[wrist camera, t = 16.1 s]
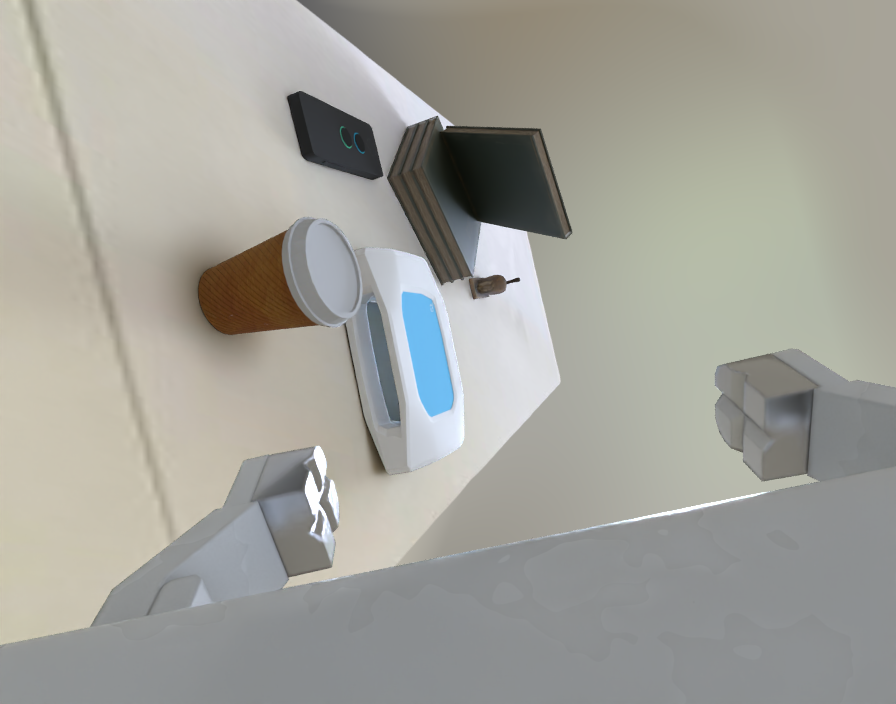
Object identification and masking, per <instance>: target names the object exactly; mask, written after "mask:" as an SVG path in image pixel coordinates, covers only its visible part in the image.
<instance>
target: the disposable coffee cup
mask: <svg viewBox="0 0 896 704" xmlns="http://www.w3.org/2000/svg"><path fill="white" fill-rule="evenodd" d="M362 290H363V289H362V278H361V272H360V268H359V264H358V261H357V258H356V255H355V253H354V251H353V248H352V246H351V244H350V243H349V241H348V239H347V238H346V236H345V235H344V233H343V232H342V231H341V230H340V229H339V228H338V227H337V226H336V225H335V224H334V223H332V222H330V221H329V220H327V219H315V218H311V217H303V218H301V219H298V220H297V221H296V222H295V223H294V224H293V225H292V226H291V227H290V228H289V229H288V230H286V231H284V232H282V233H280V234H279V235H276V236H274V237H273V238H270V239H268V240H266V241H264V242H262V243H260V244H258V245H257V246H254V247H252V248H250V249H248V250H246V251H244V252H242V253H240V254H238V255H236V256H234V257H232V258H230V259H228V260H226V261H225V262H222V263H220V264H218V265H216V266H215V267H212V268H210V269H208V270H207V271H205V272H204V273H203V275H202V277H201V279H200V282H199V288H198V291H199V300H200V305H201V308H202V310H203V312H204V314H205V316H206V318H207V319H208V321H209V322H210V323H211V324H212V325H213V327H215V328H216V329H217V330H218V331H220V332H222V333H224V334H228V335H234V334H242V333H252V332H260V331H270V330H278V329H288V328H296V327H306V326H315V325H321V326H327V327H338V326H341V325H343V324H344V323H345V322H346V321H347V320H348V319H349V318H351V317H353V316H354V315H355V314H356V313H357V312H358V310H359V308H360V305H361V300H362Z"/></svg>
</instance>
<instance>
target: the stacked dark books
mask: <svg viewBox="0 0 896 704" xmlns="http://www.w3.org/2000/svg"><path fill="white" fill-rule="evenodd" d="M446 128H447V129H445V130H443V127H442V125H441V122H440V120H439V118H438V116H435V117H433V118H430V119H428V120H425V121H422V122H419V123H417V124H414V125H411V126H408V127H407V129H406V132H405V134H404V137H403V139H402V142H401V144H400V147H399V149H398V152H397V155H396V157H395V160H394V162H393V165H392V167H391V170H390V172H389V175H388V177H387V178H388V180H389V182H390V184H391V186H392V188H393V190H394V192H395V194H396V196H397V198H398V200H399V202H400V204H401V206H402V208H403V210H404V212H405V213H406V215H407V217H408V219H409V221H410V223H411V225H412V227H413V229H414V231H415V233H416V235H417V237H418V239H419V241H420V243H421V245H422V247H423V249H424V251H425V253H426V255H427V257H428V259H429V261H430V263H431V265H432V267H433V269H434V271H435V273H436V275H437V277H438V279H439V281H440V282H441V284H442V285H443V284H444V283H445V282H449V281H450V282H451V283H453V282H454V280H457V279H461V280H464V277H468V276H471V277H473V274H474V267H475V260H476V253H477V247H478V240H479V233H480V226H481V222H484V223H489V224H494V225H499V226H503V227H508V228H513V229H518V230H523V231H528V232H533V233H538V234H543V235H548V236H552V237H557V238H562V239H567V238H568V237H569V236H570V235H571V234H572V229H571V226H570V223H569V219H568V216H567V213H566V210H565V206H564V203H563V200H562V197H561V193H560V190H559V187H558V183H557V180H556V177H555V174H554V171H553V167H552V164H551V161H550V157H549V154H548V151H547V148H546V144H545V141H544V138H543V134H542V131H541V129H533V128H501V127H467V126H446Z"/></svg>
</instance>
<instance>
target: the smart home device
mask: <svg viewBox="0 0 896 704" xmlns="http://www.w3.org/2000/svg"><path fill="white" fill-rule="evenodd" d="M288 100H289V104H290V108H291V112H292V116H293V120H294V124H295V128H296V132H297V136H298V140H299V144H300V147H301V151H302V155H303V157H304V158H305V159H306V160H308V161H311V162H315V163H318V164H321V165H325V166H328V167H331V168H335V169H338V170H341V171H345V172H348V173H351V174H355V175H358V176H361V177H365V178H368V179H371V180H374V179H377V178H379V177H382V176H383V172H382V168H381V164H380V160H379V155H378V151H377V147H376V143H375V139H374V135H373V131H372V128H371V126H370V125H369V124H367V123H365V122H363V121H361V120H359V119H357V118H355V117H353V116H351V115H349V114H347V113H345V112H343V111H341V110H339V109H337V108H335V107H333V106H331V105H329V104H327V103H325V102H323V101H321V100H319V99H317V98H315V97H313V96H311V95H308V94H306V93H304V92H302V91H298V92H296V93H294V94H291V95H289V96H288Z"/></svg>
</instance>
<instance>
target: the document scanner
mask: <svg viewBox="0 0 896 704" xmlns="http://www.w3.org/2000/svg"><path fill="white" fill-rule="evenodd" d="M354 253H355V255H356V258H357V261H358V264H359V268H360V272H361V278H362V289H363V290H362V300H361V305H360V308H359V310H358V312H357V313H356V314H355V315H354V316H353V317H351V318H349V319H348V320H347V321H346V327H347V332H348V337H349V343H350V348H351V353H352V358H353V363H354V368H355V373H356V378H357V383H358V388H359V393H360V398H361V403H362V408H363V413H364V417H365V420H366V423H367V426H368V428H369V430H370V433H371V435H372V438H373V440H374V443H375V445H376V447H377V450H378V452H379V455H380V457H381V460H382V462H383V464H384V467H385V469H386V471H387V473H388V474H389V475H393V474H400V473H407V472H412V471H414V470H417V469H419V468H422V467H424V466H426V465H429V464H431V463H433V462H436V461H438V460H440V459H442V458H443V457H445V456H447V455H448V454H450V453H452V452H453V451H455V450H457V449H458V448H460V446H461V444H462V443H463V440H464V393H463V388H462V383H461V378H460V373H459V368H458V363H457V358H456V353H455V349H454V344H453V339H452V334H451V329H450V324H449V319H448V314H447V310H446V306H445V303H444V301H443V299H442V296H441V294H440V292H439V289H438V287H437V285H436V283H435V280H434V278H433V276H432V273H431V271H430V269H429V267H428V264H427V262H426V261H425V259H424V258H423V257H420V256H416V255H413V254H409V253H406V252H402V251H399V250H395V249H388V248H373V247H364V248H361V249H358V250H354ZM369 302H375V303H377V304H378V306H379V309H380V312H381V316H382V321H383V326H384V331H385V336H386V341H387V346H388V351H389V356H390V361H391V366H392V371H393V376H394V381H395V386H396V391H397V396H398V401H399V409H400V421H391V419H390V417H389V414H388V410H387V407H386V403H385V399H384V395H383V391H382V387H381V384H380V380H379V375H378V370H377V365H376V360H375V355H374V350H373V345H372V339H371V333H370V327H369V321H368V315H367V305H368V303H369Z"/></svg>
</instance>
